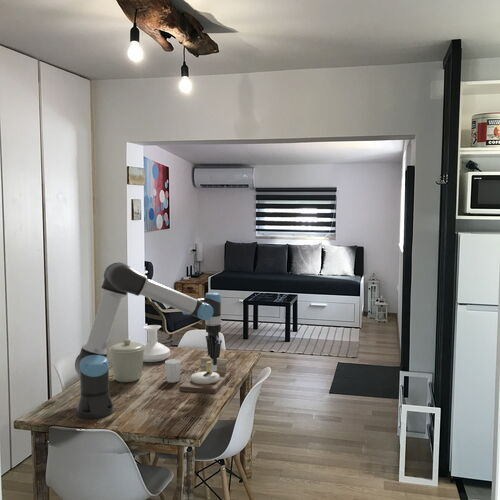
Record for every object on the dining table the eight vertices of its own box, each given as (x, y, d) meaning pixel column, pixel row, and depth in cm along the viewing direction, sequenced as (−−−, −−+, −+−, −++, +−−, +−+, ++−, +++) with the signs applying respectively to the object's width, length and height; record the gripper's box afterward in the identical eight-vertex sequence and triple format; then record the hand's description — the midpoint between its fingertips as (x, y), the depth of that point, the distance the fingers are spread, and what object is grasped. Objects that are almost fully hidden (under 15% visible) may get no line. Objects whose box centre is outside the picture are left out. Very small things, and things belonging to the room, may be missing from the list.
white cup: (178, 383, 262) (177, 363, 261) (163, 382, 263) (162, 363, 262) (183, 378, 269) (182, 359, 269) (168, 377, 271) (168, 358, 270)
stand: (215, 393, 247) (215, 374, 246) (179, 390, 251) (179, 372, 250) (230, 376, 273) (230, 359, 272) (198, 373, 277) (198, 356, 277)
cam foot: (211, 385, 251) (211, 370, 250) (186, 382, 256) (185, 367, 255) (223, 377, 264) (223, 362, 263) (199, 374, 269) (198, 359, 268)
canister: (108, 386, 258) (107, 344, 256) (110, 375, 275) (109, 335, 274) (146, 383, 261) (145, 342, 260) (145, 373, 279) (144, 334, 278)
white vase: (127, 360, 302) (127, 328, 301) (153, 353, 319) (152, 321, 317) (152, 366, 291) (152, 332, 289) (177, 358, 307) (176, 325, 306)
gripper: (226, 325, 256) (226, 372, 257) (213, 320, 267) (214, 366, 268) (212, 327, 252) (213, 375, 253) (200, 322, 263) (201, 368, 264)
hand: (213, 370), depth 261 cm, fingers closed
